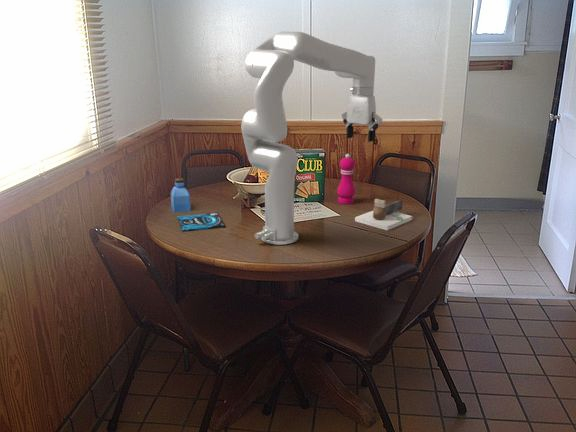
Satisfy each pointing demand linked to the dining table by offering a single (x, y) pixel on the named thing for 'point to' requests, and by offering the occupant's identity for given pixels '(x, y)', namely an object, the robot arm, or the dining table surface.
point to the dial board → (384, 220)
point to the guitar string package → (201, 222)
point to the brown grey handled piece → (385, 208)
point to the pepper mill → (346, 181)
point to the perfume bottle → (180, 197)
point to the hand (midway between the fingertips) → (360, 139)
